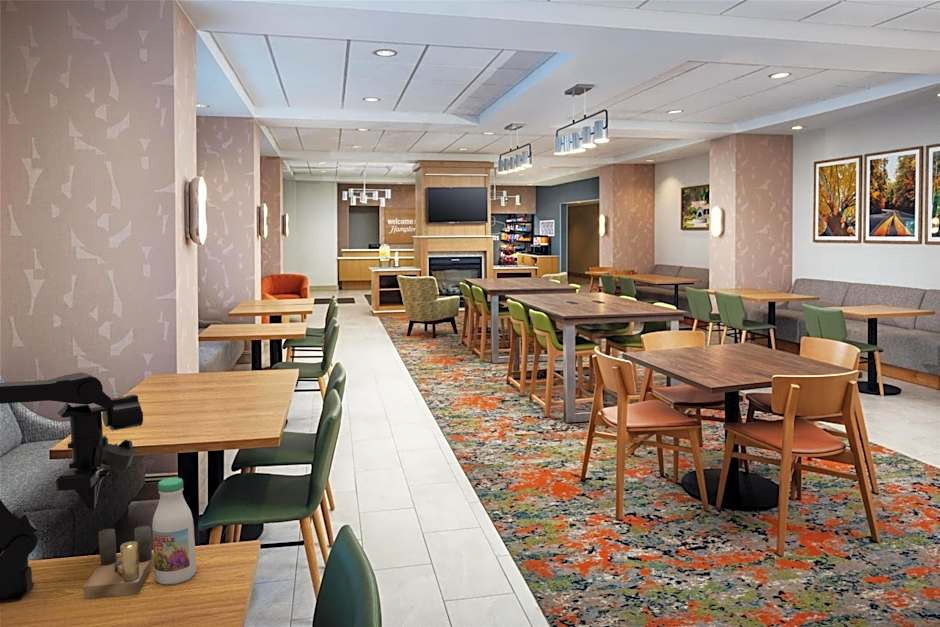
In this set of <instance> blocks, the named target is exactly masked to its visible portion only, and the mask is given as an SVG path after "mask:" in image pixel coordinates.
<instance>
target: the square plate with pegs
mask: <svg viewBox="0 0 940 627" xmlns="http://www.w3.org/2000/svg"><path fill="white" fill-rule="evenodd" d="M133 530H134V541H135V542H137V543H138V558H139V574H140V576H139V577H138V578H136V579H134V580H129V581H125V580H123V579H122V574H121V573H120V572H118V566H120V565H122V564H121V557H117V540H116V530H115V528H105V529H102V530H100V531H98V547H99V548H98V550H99V565H98V566H97V568H96V569H95V570H94V572H93V573H92V574H91V575H90V577H89V579H87V580H86V583H85V584H84V585H83V586H82V590H83V600H91V599H90V598H94V599H101V598H102V597H104V598H113V597H124V596H135V595H139V593H140V591H141V590H142V588H143V586H145V583H146V582H147V579H148V578H149V576H150V574H151V573H150V572H152V571H153V569H154V568H153V567H154V554H153V550H152V548H153V547H152V534H151V532H152V531H151V526H149V525H141V526H138V527H135V528H134V529H133ZM151 570H152V571H151Z"/></svg>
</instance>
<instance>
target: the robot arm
mask: <svg viewBox="0 0 940 627" xmlns="http://www.w3.org/2000/svg"><path fill="white" fill-rule="evenodd" d="M47 401H50V402H59V403H64V405H63V407H62V408H61V409H59V411H58V412H57V415H58V416H59V417H60V418H62V419H63V418H64V419H65V418H69V430H70V441H69V442H68V443H67V449H68V450H70V449H71V456H72V458H71V459H72V461H71V462H70V463H69V464H68V466H69V469H70V470H66V471H65V472H63V473H62V474H61V475H60V476H59V477H58V478H57V479H56V480H55V488H56V491H58V492H60V491H75V492H76V494H77V495H78V496H79V498H80V500H81V501H82V502H83V504H84V505H85V506H86V508H87V510H89V511H91V510H92V511H93V510H95V509H96V506H97V502H98V498H99V494H100V487H101V484H102V481H103V479H104V478H105V477H107V475H108V474H109V473H110V472H111V470H110V469H104V467H103V465H105V466H108V467H111V468H115V469H117V470H121V471H126V470H127V469H128V467H130V466H131V464H132V462H133V459H134V456H135V455H136V448H134V446H133V442H132V440H129V439H124V440H122V441H121V443H120V444H118V443H114V444H113V443H109V438H108V437H107V435H103V434H104V432H103V425H104V427H105V428H108V427H109V429H110V430H111V431H112V432H113V431H119V430H124V429H131V428H136V427H142V425H143V422H144V412H143V411H142V407H141V404H140V402H139V396H138V395H137V394H134V393H132V394H129V395H125V396H121V397H120V396H119V397H114V398H111V396H109V395H108V394H106V393H105V392H104V388H103V384H102V382H101V381H100V379H99V378H97V377H95V376H93V375H91V374H89V373H86V372H80V371H79V372H74V373H71V374H64V375H61V376H58V377H54V378H51V379H45V380H26V381H24V380H23V381H9V382H8V381H6V382H5V381H4V382H0V405H4V404H16V403H33V402H34V403H35V402H47ZM71 404H76V405H75V406H73V405H72V406H71ZM91 404H93V405H94V404H95V405H97V407H96V406H95V407H90V405H91ZM37 532H39V529H38V528H37V527H36V525H35V524H34V523H33V521H32V520H31V519H29V518H28V516H27V514H26V512H24V510H23V509H22V508H21V506H19V507H17V508H16V509H15V510H14V511H13V510H12V509H11V508H9V507H8V506H7V505H6V504H5V503H4V502H3V501H2V499H1V498H0V603H3V602H4V603H5V602H14V601H15V602H16V601H21V600H22V599H23V598H24V597H25V596H26V594H27V593H28V592H29V591H30V590H31V589H32V588H33V587H34V585H35V584H34V582H33V575H32V567H31V566H29V556H30V554H31V553H32V552H34V550H35V548H36V547H37V545H38V541H39V539H38V536H37V534H36V533H37Z"/></svg>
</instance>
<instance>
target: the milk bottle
mask: <svg viewBox="0 0 940 627" xmlns="http://www.w3.org/2000/svg"><path fill="white" fill-rule="evenodd" d="M157 488H158V494H159V501H158V505H157V508H156V510H155V511H154V515H153V518H152V527H151V528H152V548H153V550H152V554H153V558H154V568H153V569H154V579H155V581H156V583H157V582H158V583H159V584H162V585H175V584H176V585H177V584H180V583H183V582H186V581H188V580H190V579H191V578H193V577H194V576H195V575H196V571H197V563H196V561H197V560H196V542H195V541H196V540H195V526H194V519H193V514H192V510H191V509H190V507H189V505H188V504H187V502H186V499H185V497H184V494H183V491H184V479H183V478H182V477H181V478H180V477H169V478H168V477H166V478H164V479H162V480H159V481H158V484H157Z"/></svg>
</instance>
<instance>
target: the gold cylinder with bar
mask: <svg viewBox="0 0 940 627" xmlns="http://www.w3.org/2000/svg"><path fill="white" fill-rule="evenodd" d="M119 548H120V558H121V564H122V565H120V566H118V572H120V573H121V574H122V579H123V580H125V581H129V580H134V579H136V578H138V577H139V576H140V574H139V558H138V543H137V542H135V540H134V541H126V542H124V543H122V544H121V545H120V547H119Z"/></svg>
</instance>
